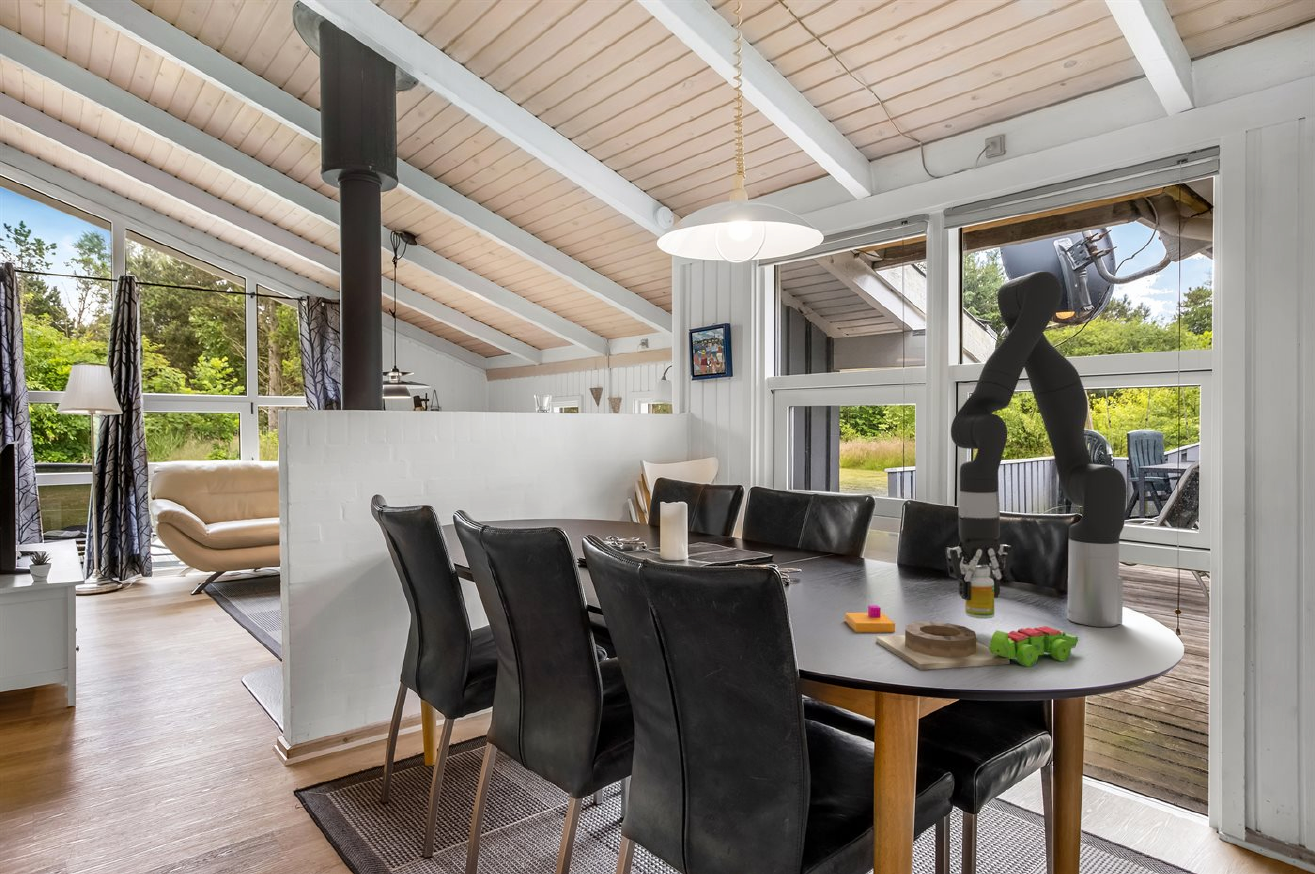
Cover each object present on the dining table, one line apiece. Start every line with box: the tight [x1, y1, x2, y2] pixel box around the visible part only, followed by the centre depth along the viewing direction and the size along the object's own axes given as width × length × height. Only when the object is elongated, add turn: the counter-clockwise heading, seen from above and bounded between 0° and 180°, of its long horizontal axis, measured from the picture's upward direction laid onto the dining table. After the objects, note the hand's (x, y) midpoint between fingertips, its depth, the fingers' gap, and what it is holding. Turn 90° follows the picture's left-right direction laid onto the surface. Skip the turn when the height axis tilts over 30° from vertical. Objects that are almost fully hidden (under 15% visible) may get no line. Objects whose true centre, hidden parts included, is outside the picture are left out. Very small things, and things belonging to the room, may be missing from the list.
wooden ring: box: [904, 621, 977, 658], centre depth 136 cm, size 12×12×3 cm
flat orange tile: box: [844, 604, 896, 633], centre depth 154 cm, size 8×8×4 cm
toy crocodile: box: [989, 626, 1079, 668], centre depth 133 cm, size 20×7×6 cm, turn 112°
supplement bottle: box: [964, 565, 995, 620], centre depth 148 cm, size 5×5×10 cm
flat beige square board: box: [875, 634, 1010, 671], centre depth 136 cm, size 17×16×1 cm
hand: (979, 597), depth 148 cm, fingers closed on supplement bottle, 5 cm apart
